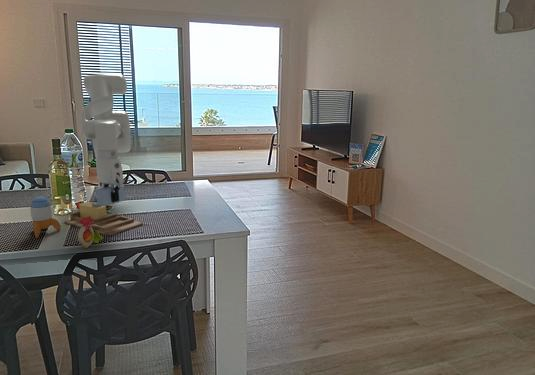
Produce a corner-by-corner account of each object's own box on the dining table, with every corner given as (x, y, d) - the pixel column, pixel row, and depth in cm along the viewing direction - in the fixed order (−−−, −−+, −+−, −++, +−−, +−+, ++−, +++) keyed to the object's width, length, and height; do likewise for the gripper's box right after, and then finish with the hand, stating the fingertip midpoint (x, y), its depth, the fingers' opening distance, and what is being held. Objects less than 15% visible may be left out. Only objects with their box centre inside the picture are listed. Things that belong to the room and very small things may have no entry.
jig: (64, 222, 172) (63, 215, 171) (98, 213, 185) (97, 206, 184) (109, 236, 157) (109, 228, 157) (143, 224, 170) (142, 217, 170)
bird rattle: (95, 254, 146) (106, 236, 153) (85, 230, 139) (97, 212, 146) (78, 253, 147) (90, 235, 154) (67, 229, 140) (80, 212, 147)
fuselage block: (80, 217, 176) (78, 201, 174) (88, 215, 179) (87, 199, 177) (98, 223, 169) (97, 205, 168) (107, 220, 173) (105, 203, 171)
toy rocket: (40, 241, 154) (25, 203, 150) (25, 240, 160) (10, 203, 156) (65, 229, 162) (51, 193, 158) (50, 229, 168) (36, 193, 164)
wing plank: (97, 204, 162) (95, 189, 161) (118, 199, 171) (117, 184, 169) (103, 206, 160) (102, 190, 159) (125, 200, 168) (124, 185, 167)
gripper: (130, 154, 160) (133, 201, 164) (101, 151, 168) (105, 195, 173) (114, 157, 154) (117, 206, 158) (85, 153, 162) (89, 199, 166)
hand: (111, 200), depth 165 cm, fingers closed on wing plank, 4 cm apart
